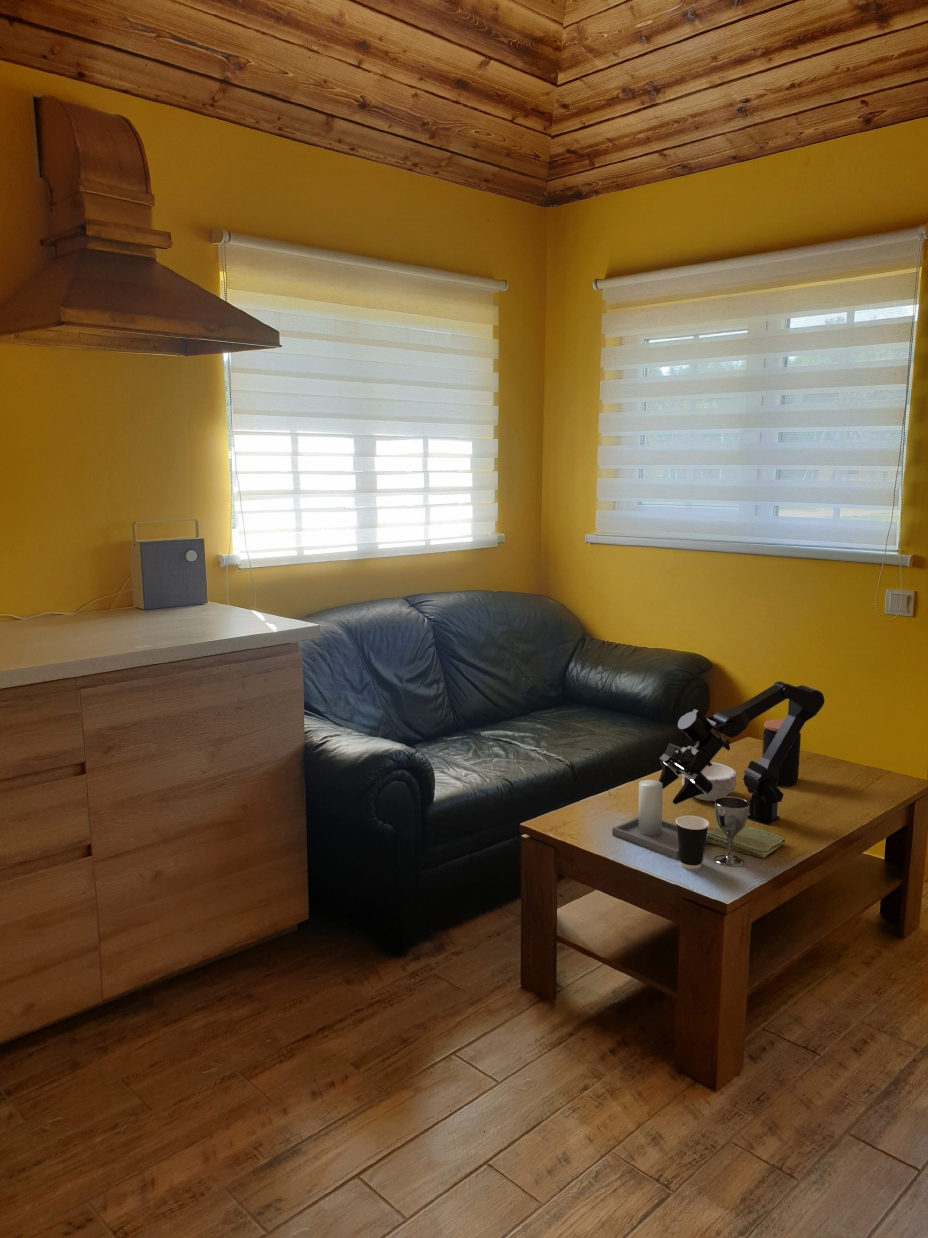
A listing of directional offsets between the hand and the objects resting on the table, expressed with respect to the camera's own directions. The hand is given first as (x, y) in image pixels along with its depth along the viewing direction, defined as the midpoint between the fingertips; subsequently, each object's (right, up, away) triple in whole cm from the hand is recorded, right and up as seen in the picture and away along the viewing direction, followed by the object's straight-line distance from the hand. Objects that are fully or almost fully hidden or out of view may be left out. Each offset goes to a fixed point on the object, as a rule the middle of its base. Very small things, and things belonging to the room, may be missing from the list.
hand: (664, 797), depth 241 cm
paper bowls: (+19, -5, +27) cm, 34 cm away
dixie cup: (+2, -13, -18) cm, 22 cm away
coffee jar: (+43, -3, +39) cm, 58 cm away
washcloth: (+19, -11, -5) cm, 23 cm away
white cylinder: (-4, -9, 0) cm, 10 cm away
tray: (-2, -10, -3) cm, 11 cm away
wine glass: (+12, -13, -15) cm, 24 cm away
